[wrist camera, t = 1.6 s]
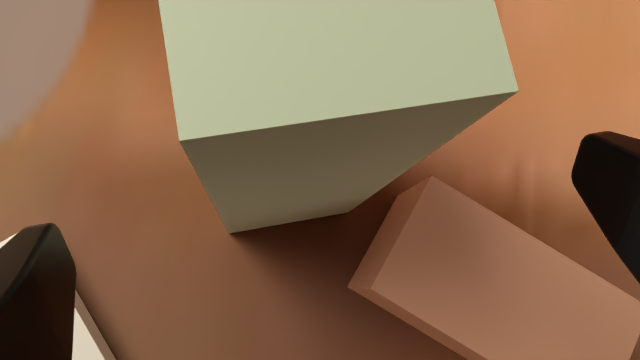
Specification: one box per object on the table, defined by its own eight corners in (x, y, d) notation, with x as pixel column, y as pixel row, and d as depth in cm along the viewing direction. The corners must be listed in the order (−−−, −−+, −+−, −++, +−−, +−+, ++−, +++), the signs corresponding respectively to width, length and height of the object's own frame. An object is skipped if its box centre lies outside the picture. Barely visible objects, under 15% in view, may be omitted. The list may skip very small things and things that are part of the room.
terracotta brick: (571, 302, 20) (649, 307, 16) (529, 397, 19) (602, 428, 15) (396, 195, 20) (432, 175, 16) (346, 286, 19) (370, 288, 15)
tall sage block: (348, 212, 19) (518, 91, 7) (228, 233, 18) (179, 140, 6) (325, 99, 20) (442, -191, 8) (210, 116, 19) (131, -177, 7)
